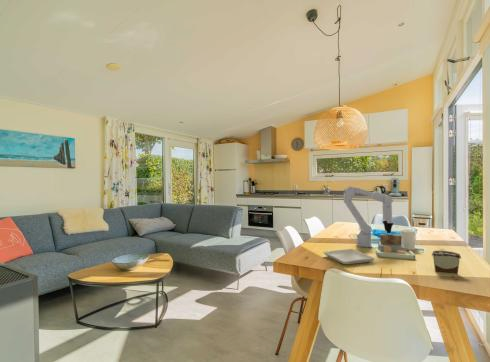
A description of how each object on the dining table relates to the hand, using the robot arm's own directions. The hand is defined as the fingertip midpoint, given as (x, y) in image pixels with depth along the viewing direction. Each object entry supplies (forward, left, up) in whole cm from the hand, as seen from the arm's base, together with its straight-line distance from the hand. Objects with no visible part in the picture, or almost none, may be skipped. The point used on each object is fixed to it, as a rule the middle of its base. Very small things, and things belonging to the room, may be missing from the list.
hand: (387, 231), depth 189 cm
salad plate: (-27, -41, -11) cm, 50 cm away
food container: (+19, -47, -11) cm, 52 cm away
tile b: (+4, -23, -7) cm, 25 cm away
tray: (0, -23, -10) cm, 26 cm away
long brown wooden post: (0, -9, -6) cm, 11 cm away
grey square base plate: (0, -11, -10) cm, 15 cm away
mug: (+13, +1, -11) cm, 17 cm away
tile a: (-3, -19, -8) cm, 21 cm away
